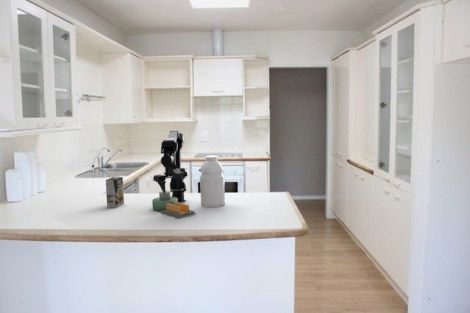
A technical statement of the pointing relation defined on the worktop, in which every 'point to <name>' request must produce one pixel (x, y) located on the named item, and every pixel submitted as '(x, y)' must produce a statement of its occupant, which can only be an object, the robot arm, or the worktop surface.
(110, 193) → the coffee box
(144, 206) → the worktop surface
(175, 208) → the chute
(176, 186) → the robot arm
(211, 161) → the bottle
